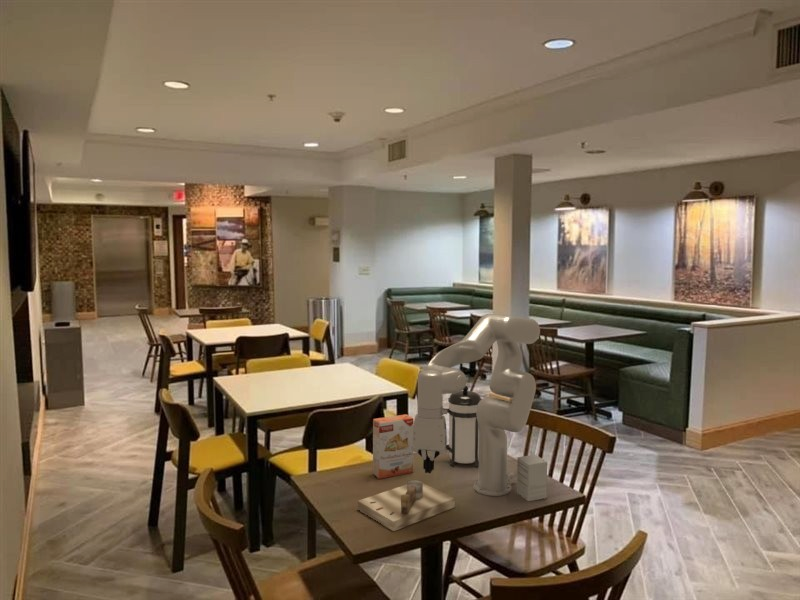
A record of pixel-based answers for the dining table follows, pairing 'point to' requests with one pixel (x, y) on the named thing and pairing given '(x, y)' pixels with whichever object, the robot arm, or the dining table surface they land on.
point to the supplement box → (532, 477)
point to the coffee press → (463, 428)
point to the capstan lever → (411, 495)
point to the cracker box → (392, 446)
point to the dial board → (389, 506)
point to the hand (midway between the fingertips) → (428, 471)
